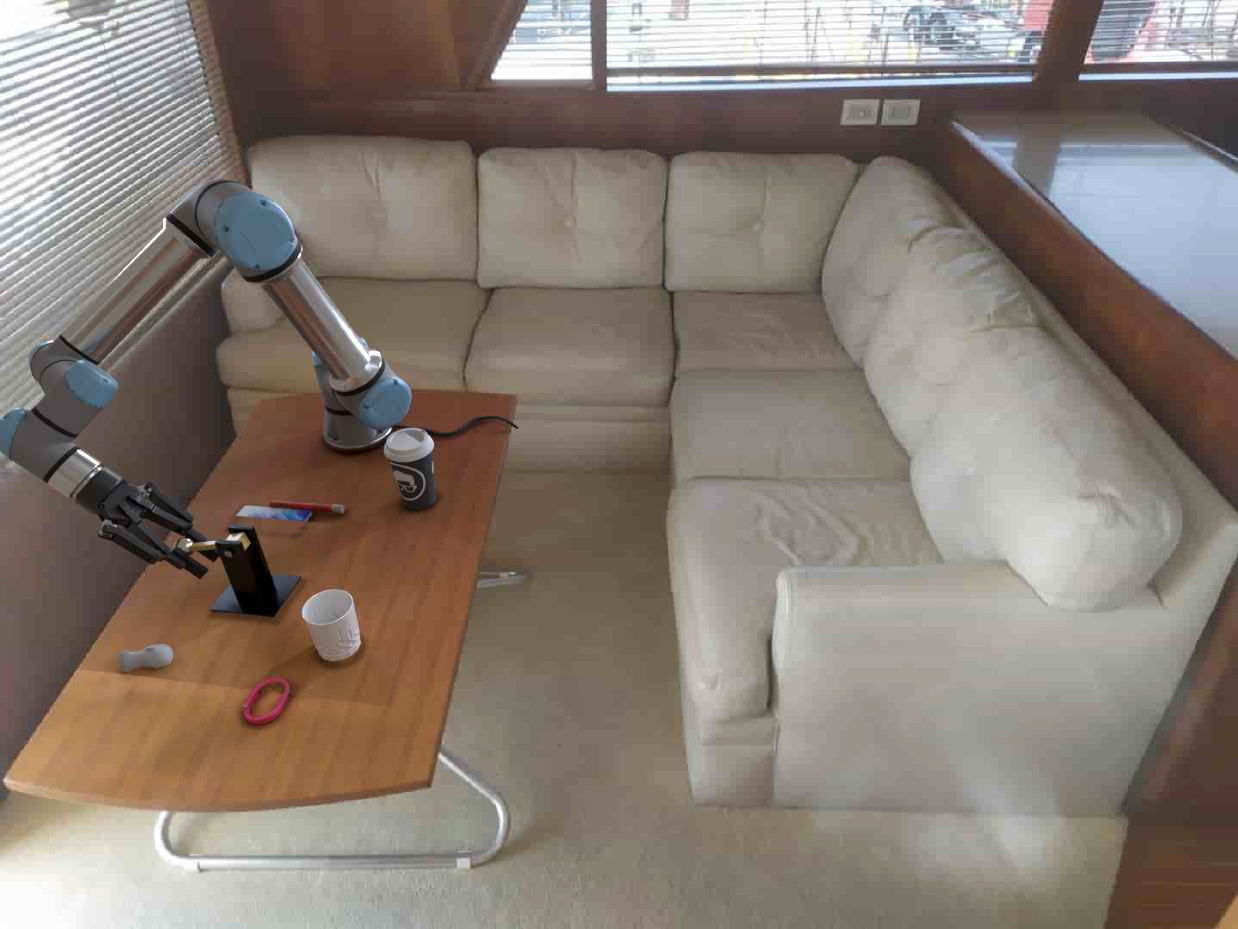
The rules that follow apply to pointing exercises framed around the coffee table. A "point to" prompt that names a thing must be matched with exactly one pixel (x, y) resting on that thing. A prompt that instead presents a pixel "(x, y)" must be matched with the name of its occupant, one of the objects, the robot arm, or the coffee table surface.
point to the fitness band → (255, 695)
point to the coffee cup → (412, 466)
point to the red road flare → (308, 506)
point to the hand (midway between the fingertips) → (211, 565)
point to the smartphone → (274, 513)
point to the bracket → (250, 578)
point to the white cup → (332, 624)
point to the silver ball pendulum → (207, 543)
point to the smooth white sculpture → (146, 658)
